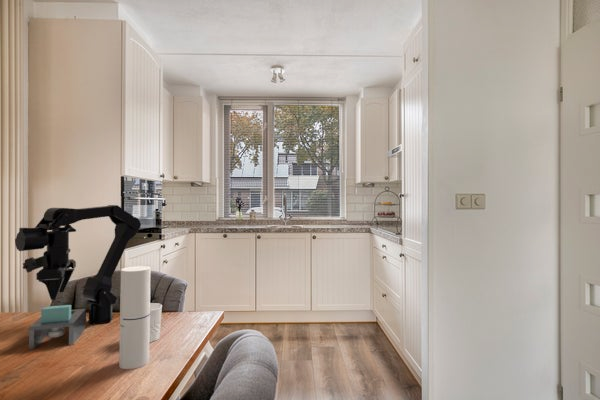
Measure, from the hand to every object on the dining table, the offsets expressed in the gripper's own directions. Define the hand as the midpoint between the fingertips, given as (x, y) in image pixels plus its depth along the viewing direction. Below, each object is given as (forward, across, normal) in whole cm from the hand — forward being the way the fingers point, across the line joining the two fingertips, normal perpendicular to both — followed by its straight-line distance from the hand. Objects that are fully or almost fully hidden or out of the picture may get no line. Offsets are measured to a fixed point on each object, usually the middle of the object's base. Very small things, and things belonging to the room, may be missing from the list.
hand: (57, 295), depth 108 cm
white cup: (+13, +13, +27) cm, 33 cm away
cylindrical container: (+13, +29, +24) cm, 40 cm away
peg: (+10, +6, +1) cm, 12 cm away
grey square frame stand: (+12, +3, +1) cm, 13 cm away
